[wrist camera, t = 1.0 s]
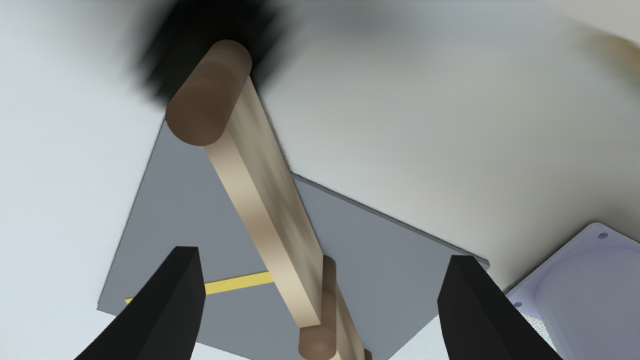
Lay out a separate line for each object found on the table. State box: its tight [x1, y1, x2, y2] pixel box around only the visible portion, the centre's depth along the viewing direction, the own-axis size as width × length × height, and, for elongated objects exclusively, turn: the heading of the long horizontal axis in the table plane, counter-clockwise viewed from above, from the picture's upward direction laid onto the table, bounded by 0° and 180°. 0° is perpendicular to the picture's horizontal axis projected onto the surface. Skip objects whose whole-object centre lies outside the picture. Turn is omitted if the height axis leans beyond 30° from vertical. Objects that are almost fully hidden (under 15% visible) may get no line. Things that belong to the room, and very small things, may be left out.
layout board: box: [96, 119, 491, 360], centre depth 29 cm, size 21×17×1 cm
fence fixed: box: [298, 255, 372, 360], centre depth 28 cm, size 12×2×6 cm, turn 17°
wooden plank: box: [165, 40, 323, 328], centre depth 20 cm, size 14×2×6 cm, turn 17°
